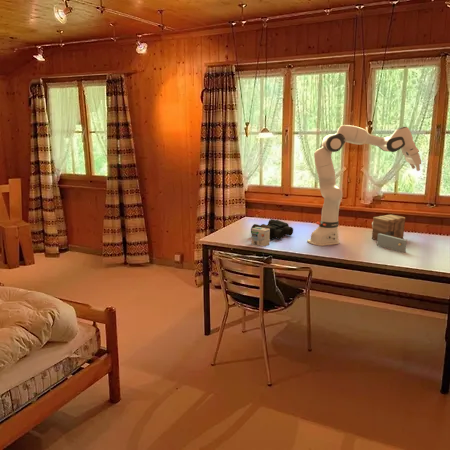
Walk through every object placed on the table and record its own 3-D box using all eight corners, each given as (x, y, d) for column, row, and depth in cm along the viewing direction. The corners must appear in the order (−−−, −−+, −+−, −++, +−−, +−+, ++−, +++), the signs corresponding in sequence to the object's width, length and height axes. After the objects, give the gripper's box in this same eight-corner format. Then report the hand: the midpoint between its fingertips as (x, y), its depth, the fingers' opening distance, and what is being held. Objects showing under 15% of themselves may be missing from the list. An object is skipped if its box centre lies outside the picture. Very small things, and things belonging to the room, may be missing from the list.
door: (405, 252, 277) (406, 240, 275) (401, 253, 275) (403, 240, 274) (379, 245, 294) (380, 233, 292) (375, 245, 292) (376, 234, 290)
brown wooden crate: (388, 243, 296) (390, 221, 293) (370, 238, 309) (372, 217, 305) (407, 239, 307) (409, 218, 303) (389, 234, 319) (390, 214, 315)
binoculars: (272, 229, 334) (273, 216, 331) (296, 236, 322) (297, 222, 319) (250, 237, 313) (251, 223, 310) (274, 244, 300) (275, 230, 298)
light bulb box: (250, 244, 296) (251, 228, 294) (256, 241, 302) (256, 226, 299) (264, 246, 290) (265, 230, 288) (269, 244, 296) (270, 228, 293)
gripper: (399, 150, 299) (406, 169, 302) (409, 153, 280) (416, 173, 283) (408, 146, 298) (415, 165, 301) (419, 149, 279) (426, 169, 282)
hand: (416, 169), depth 292 cm, fingers open, 8 cm apart
